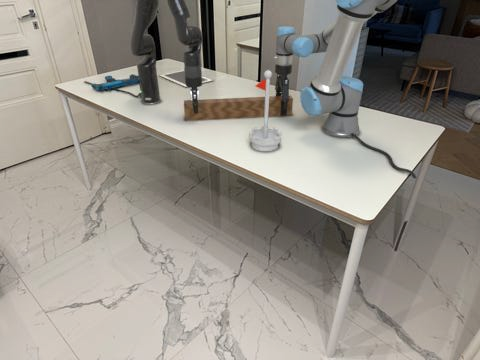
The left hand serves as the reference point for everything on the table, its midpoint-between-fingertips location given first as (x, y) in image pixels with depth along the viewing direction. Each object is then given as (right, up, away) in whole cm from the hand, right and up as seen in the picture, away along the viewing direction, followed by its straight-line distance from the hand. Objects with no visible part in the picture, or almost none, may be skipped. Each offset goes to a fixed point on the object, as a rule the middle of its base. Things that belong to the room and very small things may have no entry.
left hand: (196, 111), depth 160 cm
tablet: (-14, +32, +56) cm, 66 cm away
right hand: (+41, +2, +5) cm, 41 cm away
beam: (+20, -2, +4) cm, 21 cm away
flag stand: (+31, -18, -22) cm, 42 cm away
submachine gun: (-53, +27, +48) cm, 76 cm away
